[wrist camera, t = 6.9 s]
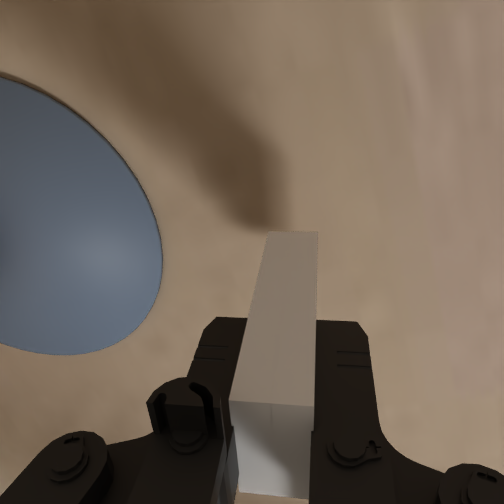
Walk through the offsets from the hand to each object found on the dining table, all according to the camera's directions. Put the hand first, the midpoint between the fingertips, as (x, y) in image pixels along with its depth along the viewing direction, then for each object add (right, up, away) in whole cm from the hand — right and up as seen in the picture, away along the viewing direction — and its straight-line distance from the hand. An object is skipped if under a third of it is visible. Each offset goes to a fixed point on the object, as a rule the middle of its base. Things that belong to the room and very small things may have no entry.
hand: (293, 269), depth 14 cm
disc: (-11, +1, +3) cm, 11 cm away
